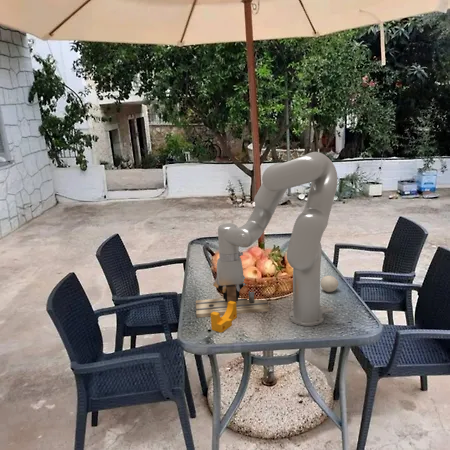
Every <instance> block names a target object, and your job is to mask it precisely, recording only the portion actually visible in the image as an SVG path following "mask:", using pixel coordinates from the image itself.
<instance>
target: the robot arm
mask: <svg viewBox="0 0 450 450" xmlns="http://www.w3.org/2000/svg"><path fill="white" fill-rule="evenodd" d="M309 183H311V185H310V188H309V190H308V193H307V199H306V201H305V205H304V209H303V210H302V212H301V213H300V214H299V215H298V216H297V218H295V219H296V220H295V221H294V224H293V228H292V232H291V236H290V240H289V243H288V247H287V251H286V260H287V263H288V264H289V266H290V268H292V301H293V302H292V303H293V304H292V305H293V306H292V308H293V309H292V310H291V311H290V312H289V313H288V317H289V320H290V321H291V322H292V323H294V324H296V325H297V326H304V327H313V326H316V325H317V326H318V325H320V324H322V323H323V322H324V320H325V315H326V314H333V313H334V308H333V307H328V305H321V265H322V264H321V263H322V254H323V253H322V251H323V249H322V248H323V247H322V244H321V240H322V237H323V235H324V232H325V231H326V228H327V226H328V225H329V224H328V223H329V219H330V215H331V211H332V208H333V203H334V201H335V195H336V191H337V187H338V172H337V169H336V166H335V165H334V162H332V160H331V159H330V158H329V157H328V156H327V155H325V154H324V153H323V152H319V151H313V152H308V153H306V154H304V155H302V156H299V157H297V158H294V159H291V160H288V161H285V162H277V163H273V164H271V165H269V166H268V167H267V168H266V169H265V170H264V171H263V173H262V176H261V185H260V187H259V189H258V191H257V193H256V194H255V195H254V198H253V202H254V207H253V211H252V212H251V214H250V216H249V218H248V220H247V221H246V223H244V224H243V225H241V226H239V227H238V226H237V224H235V223H232V222H231V223H230V222H229V223H227V222H226V223H221V224H219V225H218V227H217V238H218V239H217V240H218V254H219V258H217V261H216V277H215V280H214V281H213V283H212V284H213V285H212V286H213V287H215V288H216V289H218V290H220V291H221V292H222V298H223V299H225V301H226V302H227V291H226V285H235V286H236V301H238V298H239V297H240V291H241V290H242V289H243V288H244V286H246V285H247V284H245V283H243V282H244V279H245V278H246V277H245V275H244V268H243V262H242V261H243V260H242V257H241V256H244V255H243V254H244V253H243V251H240V247H241V248H250V247H251V246H252V245H253V244H255V242H256V241H257V240H259V239H260V238H261V237H262V235H263V233H264V232H265V230H266V228H267V226H268V225H269V223H270V221H271V219H272V217H273V215H274V214H275V212H276V210H277V207H278V206H279V204H280V202H281V201H282V198H283V197H284V195H285V194H286V193H287V190H290V189H291V188H295V187H299V186H302V185H306V184H309Z"/></svg>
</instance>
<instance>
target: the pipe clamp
mask: <svg viewBox="0 0 450 450" xmlns="http://www.w3.org/2000/svg"><path fill="white" fill-rule="evenodd" d="M237 318H238V314H237V307H236V302H233V301H229V302H228V305H227V310H226V312H225V314H224V315H222V316H220V313H218V312H212V313H211V317H210V323H211V324H210V327H211V330H212V331H214V332H218V333H220V334H222V333H224V332H225V331H226V330H227V329H229V328H230V327H232V326H233V321H234V320H236V319H237Z"/></svg>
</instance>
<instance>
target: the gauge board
mask: <svg viewBox="0 0 450 450" xmlns="http://www.w3.org/2000/svg"><path fill="white" fill-rule="evenodd" d="M236 302H237V303H236V307H237V315H242V314H251V313H252V314H253V313H264V312H270V311H271V308H270V304H269V302H268V300H267V299H266V300H255V302H254V303H249V300H247V299H238V301H236ZM227 305H228V304H227V302H226V301H225V299H223V297H221V298H211V299H200V300H199V299H197V300H195V310H196V311H195V313H196V319H198V318H208V317H209V318H211V313H212V312H218V313H220V317H222V316H223V315H224V314H225V312H226V310H227Z"/></svg>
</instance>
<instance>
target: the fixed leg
mask: <svg viewBox="0 0 450 450" xmlns="http://www.w3.org/2000/svg"><path fill="white" fill-rule="evenodd" d="M250 291H251V290H249V291H248V296H249V303H254V302H255V300H254V295H255V291H254V292H250Z"/></svg>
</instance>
